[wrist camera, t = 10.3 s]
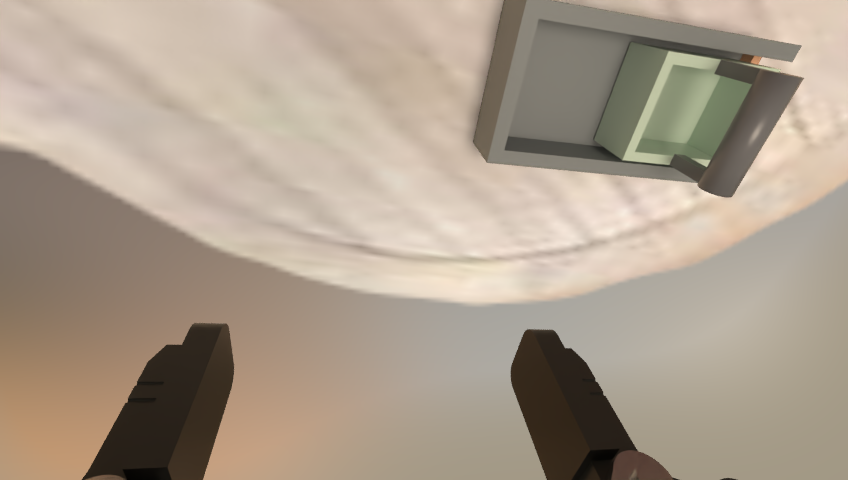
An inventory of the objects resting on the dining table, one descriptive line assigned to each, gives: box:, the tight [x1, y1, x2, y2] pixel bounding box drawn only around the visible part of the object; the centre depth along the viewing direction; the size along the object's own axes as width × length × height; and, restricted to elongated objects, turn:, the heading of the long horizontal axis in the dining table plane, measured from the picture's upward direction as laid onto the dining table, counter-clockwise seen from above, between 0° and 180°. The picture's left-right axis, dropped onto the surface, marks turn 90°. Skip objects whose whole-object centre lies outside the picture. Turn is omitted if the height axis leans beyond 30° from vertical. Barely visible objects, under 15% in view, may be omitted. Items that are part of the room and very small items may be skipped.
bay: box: [473, 0, 801, 183], centre depth 35 cm, size 12×23×5 cm, turn 81°
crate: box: [594, 42, 804, 197], centre depth 32 cm, size 8×10×11 cm
